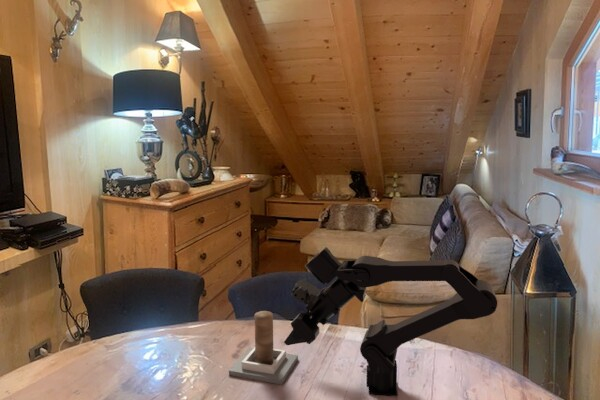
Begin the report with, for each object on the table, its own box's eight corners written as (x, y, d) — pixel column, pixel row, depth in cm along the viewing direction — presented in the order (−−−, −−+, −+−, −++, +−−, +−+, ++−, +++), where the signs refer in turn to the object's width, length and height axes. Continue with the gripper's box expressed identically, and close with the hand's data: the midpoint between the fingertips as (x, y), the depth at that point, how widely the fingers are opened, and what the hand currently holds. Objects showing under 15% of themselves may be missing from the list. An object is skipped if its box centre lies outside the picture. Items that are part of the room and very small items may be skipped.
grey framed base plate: (297, 359, 118) (297, 348, 117) (281, 384, 107) (281, 373, 106) (249, 351, 122) (249, 341, 122) (229, 374, 111) (228, 363, 111)
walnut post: (276, 359, 116) (275, 312, 114) (269, 368, 112) (268, 319, 109) (260, 356, 117) (259, 309, 115) (252, 365, 113) (251, 317, 111)
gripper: (322, 260, 115) (283, 296, 120) (298, 285, 97) (254, 326, 103) (352, 292, 113) (311, 327, 119) (334, 323, 96) (287, 363, 101)
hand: (292, 334), depth 110 cm, fingers open, 9 cm apart
